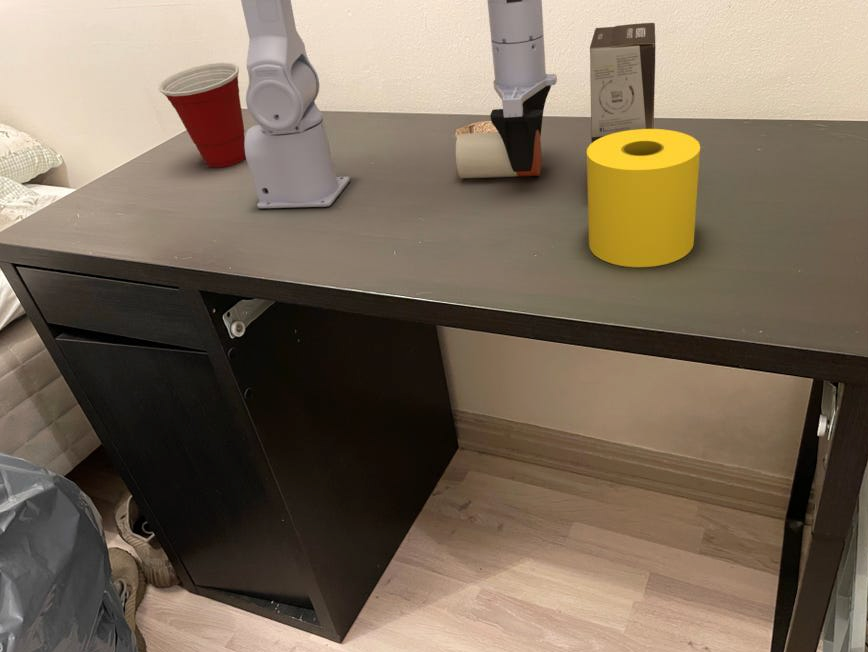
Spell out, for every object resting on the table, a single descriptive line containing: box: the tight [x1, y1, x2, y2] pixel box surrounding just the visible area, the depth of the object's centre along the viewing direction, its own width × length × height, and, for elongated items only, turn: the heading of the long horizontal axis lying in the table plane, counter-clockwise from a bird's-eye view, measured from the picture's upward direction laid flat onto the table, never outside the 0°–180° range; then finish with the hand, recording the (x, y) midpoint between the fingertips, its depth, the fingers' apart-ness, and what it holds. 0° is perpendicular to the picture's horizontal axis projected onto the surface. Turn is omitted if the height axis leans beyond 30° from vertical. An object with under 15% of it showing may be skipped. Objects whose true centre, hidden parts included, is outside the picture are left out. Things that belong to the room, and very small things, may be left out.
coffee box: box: [589, 22, 656, 144], centre depth 79 cm, size 9×6×16 cm
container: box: [455, 130, 542, 179], centre depth 88 cm, size 5×5×10 cm
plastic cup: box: [157, 62, 246, 168], centre depth 102 cm, size 11×11×12 cm
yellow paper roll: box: [586, 128, 701, 268], centre depth 69 cm, size 10×10×9 cm
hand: (526, 157), depth 88 cm, fingers open, 7 cm apart
